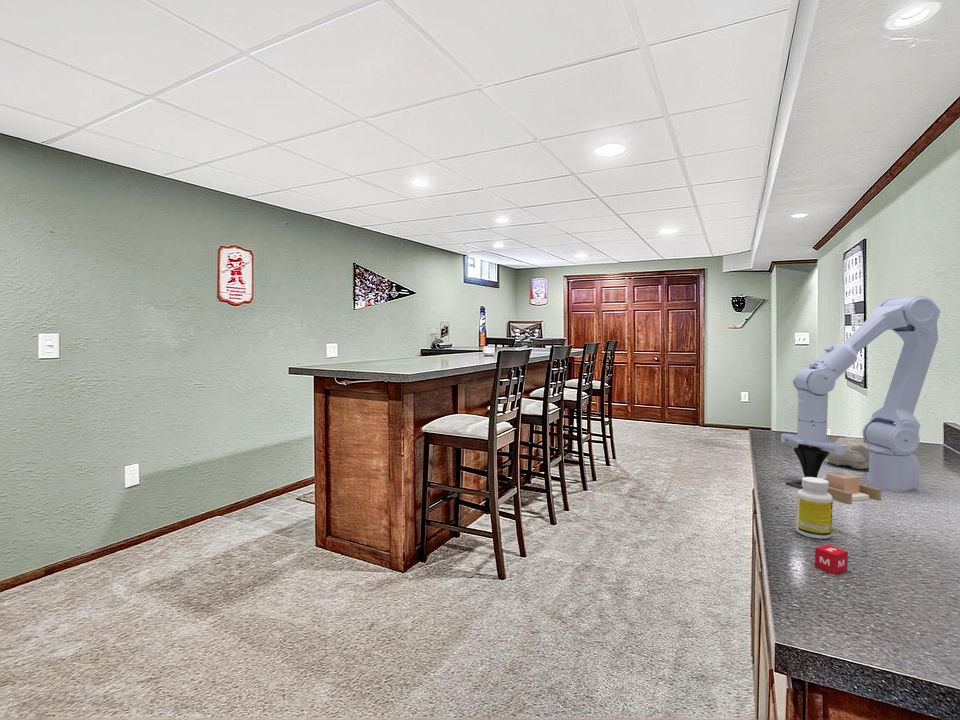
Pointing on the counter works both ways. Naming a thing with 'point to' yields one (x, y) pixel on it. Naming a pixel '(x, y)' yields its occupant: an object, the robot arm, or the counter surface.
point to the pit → (795, 484)
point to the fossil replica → (851, 454)
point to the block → (844, 482)
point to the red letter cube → (831, 559)
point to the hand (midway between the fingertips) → (810, 478)
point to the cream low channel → (855, 496)
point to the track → (847, 497)
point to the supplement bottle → (814, 509)
